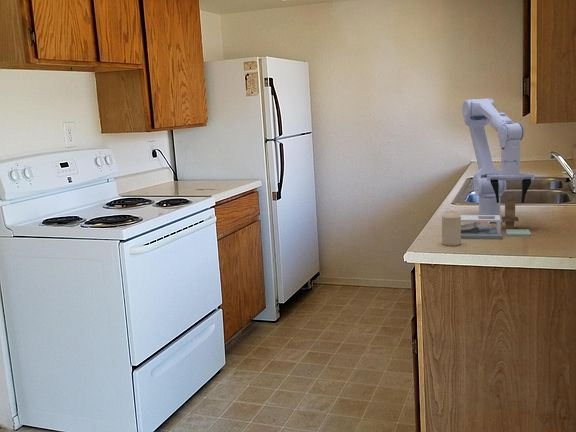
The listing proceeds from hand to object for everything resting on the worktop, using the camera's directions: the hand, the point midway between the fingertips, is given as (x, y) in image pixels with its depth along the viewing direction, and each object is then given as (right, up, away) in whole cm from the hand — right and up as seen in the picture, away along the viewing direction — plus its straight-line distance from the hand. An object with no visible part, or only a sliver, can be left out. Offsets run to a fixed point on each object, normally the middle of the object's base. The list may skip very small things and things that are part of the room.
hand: (510, 202), depth 199 cm
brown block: (+1, -9, +2) cm, 9 cm away
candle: (-23, -13, -14) cm, 30 cm away
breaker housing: (-12, -10, -3) cm, 16 cm away
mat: (0, -10, -6) cm, 12 cm away
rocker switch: (-13, -7, -4) cm, 15 cm away
